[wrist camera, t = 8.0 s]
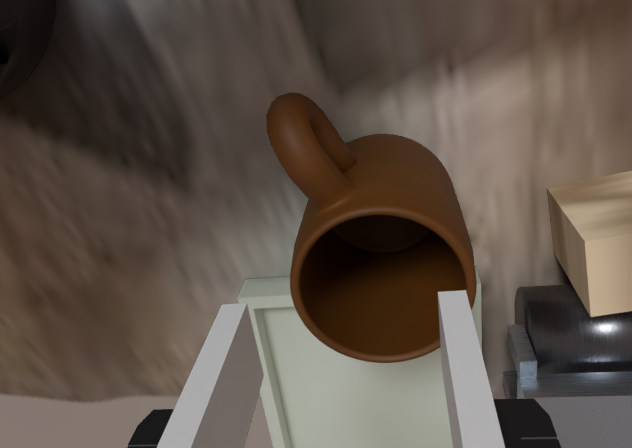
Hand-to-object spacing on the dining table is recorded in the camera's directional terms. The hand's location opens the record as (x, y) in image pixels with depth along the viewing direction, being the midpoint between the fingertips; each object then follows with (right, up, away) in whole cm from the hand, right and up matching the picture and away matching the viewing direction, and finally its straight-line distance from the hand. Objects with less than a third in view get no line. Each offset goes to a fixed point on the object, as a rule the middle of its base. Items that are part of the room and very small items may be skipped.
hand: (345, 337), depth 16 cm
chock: (+15, +4, +13) cm, 20 cm away
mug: (+2, +7, +13) cm, 15 cm away
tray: (+3, -7, +20) cm, 21 cm away
